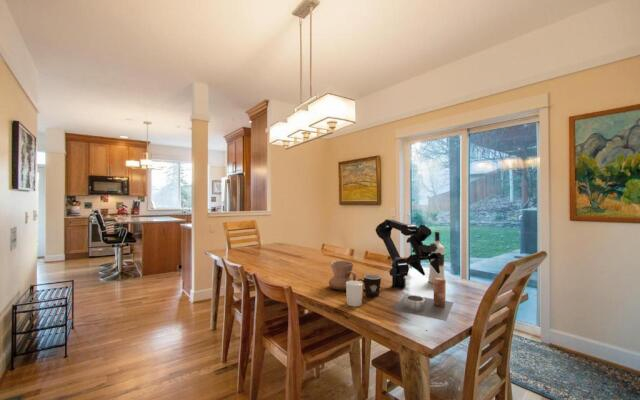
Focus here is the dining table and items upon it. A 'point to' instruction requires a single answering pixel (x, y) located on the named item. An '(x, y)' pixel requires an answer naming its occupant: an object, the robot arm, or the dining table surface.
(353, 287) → the white cup
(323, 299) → the dining table surface
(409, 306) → the stone sleeve
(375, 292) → the coffee mug
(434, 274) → the vodka
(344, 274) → the ceramic jug
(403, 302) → the charcoal mat
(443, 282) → the terracotta plug
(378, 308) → the dining table surface
